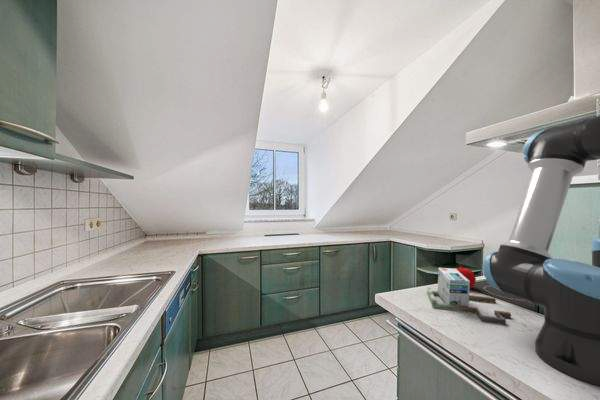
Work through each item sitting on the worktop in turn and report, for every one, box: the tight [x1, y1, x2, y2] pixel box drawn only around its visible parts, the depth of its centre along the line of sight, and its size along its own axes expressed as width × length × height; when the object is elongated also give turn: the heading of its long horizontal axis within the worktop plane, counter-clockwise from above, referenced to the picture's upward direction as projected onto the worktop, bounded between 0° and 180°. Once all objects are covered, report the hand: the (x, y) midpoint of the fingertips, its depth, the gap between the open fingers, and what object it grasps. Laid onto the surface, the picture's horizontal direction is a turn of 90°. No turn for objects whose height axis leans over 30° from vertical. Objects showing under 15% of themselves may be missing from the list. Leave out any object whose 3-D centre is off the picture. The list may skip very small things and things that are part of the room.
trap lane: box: [426, 287, 512, 326], centre depth 87 cm, size 25×23×2 cm
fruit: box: [454, 264, 476, 290], centre depth 104 cm, size 9×9×10 cm
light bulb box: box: [437, 267, 471, 307], centre depth 88 cm, size 11×7×11 cm, turn 170°
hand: (489, 275), depth 85 cm, fingers open, 13 cm apart
